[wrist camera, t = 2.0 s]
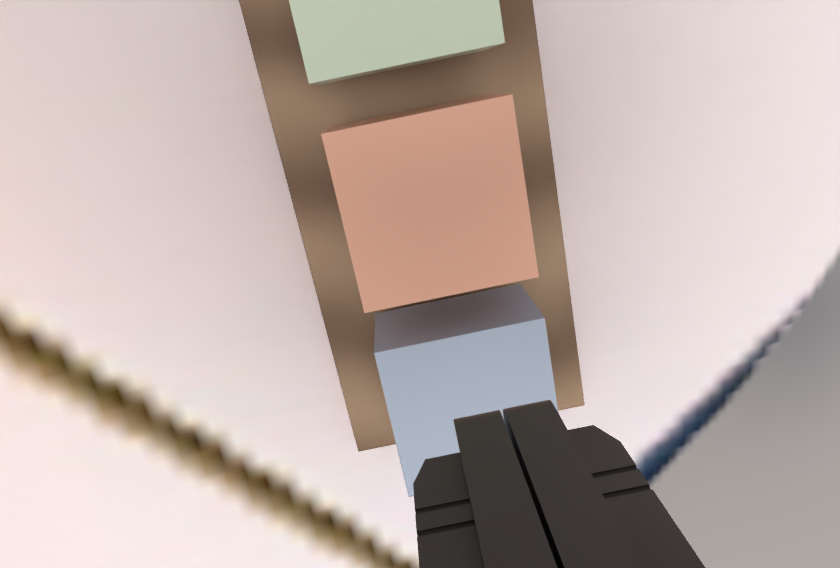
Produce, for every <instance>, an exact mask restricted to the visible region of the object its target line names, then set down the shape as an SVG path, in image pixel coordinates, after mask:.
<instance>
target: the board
mask: <svg viewBox="0 0 840 568" xmlns="http://www.w3.org/2000/svg"><path fill="white" fill-rule="evenodd" d="M239 2H240V6H241V9H242V13H243V17H244V21H245V25H246V28H247V32H248V36H249V40H250V43H251V47H252V51H253V55H254V59H255V62H256V66H257V70H258V74H259V77H260V81H261V85H262V89H263V93H264V96H265V100H266V104H267V108H268V111H269V115H270V119H271V123H272V127H273V130H274V134H275V138H276V142H277V145H278V149H279V153H280V157H281V160H282V164H283V168H284V172H285V176H286V179H287V183H288V187H289V191H290V194H291V198H292V202H293V206H294V210H295V213H296V217H297V221H298V225H299V228H300V232H301V236H302V240H303V244H304V247H305V251H306V255H307V259H308V262H309V266H310V270H311V274H312V278H313V281H314V285H315V289H316V293H317V296H318V300H319V304H320V308H321V311H322V315H323V319H324V323H325V327H326V330H327V334H328V338H329V342H330V345H331V349H332V353H333V357H334V361H335V364H336V368H337V372H338V376H339V379H340V383H341V387H342V391H343V395H344V398H345V402H346V406H347V410H348V413H349V417H350V421H351V425H352V429H353V432H354V436H355V440H356V444H357V447H358V451H364V450H368V449H373V448H378V447H383V446H388V445H393V444H396V442H395V438H394V433H393V429H392V425H391V421H390V417H389V413H388V409H387V405H386V400H385V396H384V392H383V388H382V384H381V380H380V376H379V371H378V367H377V363H376V359H375V355H374V340H375V314H377V313H381V312H386V311H391V310H396V309H401V308H406V307H410V306H415V305H420V304H425V303H430V302H435V301H440V300H444V299H449V298H454V297H459V296H464V295H469V294H473V293H478V292H483V291H488V290H493V289H498V288H502V287H507V286H512V285H517V284H521V285H522V286H523V288H524V289H525V291H526V292H527V293H528V295H529V296H530V298H531V299H532V301H533V302H534V303H535V305H536V306H537V308H538V309H539V310H540V312H541V313H542V315H543V316H544V318H545V323H546V330H547V337H548V344H549V351H550V358H551V365H552V371H553V378H554V385H555V392H556V399H557V406H558V410H563V409H568V408H573V407H578V406H583V405H584V398H583V390H582V383H581V375H580V367H579V359H578V352H577V344H576V336H575V328H574V320H573V313H572V305H571V297H570V289H569V282H568V274H567V266H566V258H565V251H564V243H563V235H562V227H561V220H560V212H559V204H558V196H557V188H556V181H555V173H554V165H553V157H552V150H551V142H550V134H549V126H548V119H547V111H546V103H545V95H544V88H543V80H542V72H541V64H540V56H539V49H538V41H537V33H536V25H535V18H534V10H533V2H532V0H499V4H500V11H501V18H502V25H503V32H504V39H505V43H503V44H501V45H498V46H495V47H492V48H490V49H487V50H484V51H479V52H475V53H470V54H465V55H460V56H455V57H451V58H446V59H441V60H436V61H431V62H427V63H422V64H417V65H412V66H407V67H403V68H398V69H393V70H388V71H383V72H379V73H374V74H369V75H364V76H359V77H355V78H350V79H345V80H340V81H335V82H331V83H326V84H309V82H308V78H307V74H306V70H305V65H304V61H303V57H302V53H301V49H300V45H299V41H298V37H297V32H296V28H295V24H294V20H293V16H292V12H291V8H290V3H289V0H239ZM490 93H496V94H513V101H514V108H515V115H516V122H517V129H518V136H519V143H520V150H521V157H522V163H523V170H524V177H525V184H526V191H527V198H528V205H529V212H530V219H531V226H532V233H533V240H534V247H535V254H536V261H537V267H538V274H539V277H537V278H532V279H528V280H523V281H518V282H513V283H508V284H503V285H499V286H494V287H489V288H484V289H479V290H474V291H469V292H465V293H460V294H455V295H450V296H445V297H440V298H436V299H431V300H426V301H421V302H416V303H411V304H407V305H402V306H397V307H392V308H387V309H382V310H378V311H373V312H368V313H364V309H363V305H362V301H361V297H360V293H359V289H358V285H357V280H356V276H355V272H354V268H353V264H352V260H351V256H350V252H349V247H348V243H347V239H346V235H345V231H344V227H343V223H342V218H341V214H340V210H339V206H338V202H337V198H336V194H335V190H334V185H333V181H332V177H331V173H330V169H329V165H328V161H327V156H326V152H325V148H324V144H323V140H322V136H321V134H322V133H323V132H325V131H326V130H327V129H329V128H330V127H331V126H336V125H341V124H346V123H351V122H355V121H360V120H365V119H370V118H375V117H380V116H384V115H389V114H394V113H399V112H404V111H408V110H413V109H418V108H423V107H428V106H432V105H437V104H442V103H447V102H452V101H456V100H461V99H466V98H471V97H476V96H480V95H485V94H490Z"/></svg>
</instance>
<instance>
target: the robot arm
mask: <svg viewBox="0 0 840 568" xmlns="http://www.w3.org/2000/svg"><path fill="white" fill-rule="evenodd" d="M503 419H504V420H503ZM453 421H454V426H455V431H456V436H457V441H458V446H459V451H460V452H459V453H454V454H449V455H444V456H439V457H434V458H429V459H425V461H424V463H423V465H422V467H421V469H420V471H419V473H418V475H417V477H416V479H415V481H414V483H413V489H414V502H415V511H416V528H417V535H418V537H417V541H418V554H419V567H420V568H705V567H704V565H703V564H702V562H701V561H700V559H699V558H698V556H697V555H696V553H695V552H694V550H693V549H692V547H691V546H690V544H689V543H688V542H687V540H686V538H685V537H684V536H683V534H682V533H681V531H680V530H679V528H678V527H677V525H676V524H675V522H674V521H673V519H672V518H671V516H670V515H669V513H668V512H667V510H666V509H665V507H664V506H663V504H662V503H661V501H660V500H659V499H658V497H657V495H656V494H655V492H654V491H653V490H651V489H650V487H649V484H648V482H647V481H646V479H645V478H644V476H643V475H642V473H641V472H640V470H639V469H638V470H637V468H636V464H635V463H634V461H633V460H632V458H631V457H630V455H629V454H628V452H627V451H626V449H625V448H624V446H623V445H622V444H621V442H620V441H618V440H617V439H615V438H614V437H612V436H610V435H609V434H607V433H605V432H604V431H602V430H600V429H599V428H597V427H596V426H594V425H592V426H587V427H582V428H577V429H572V430H567V428H566V427H565V425H564V423H563V421H562V419H561V417H560V416H559V414H558V412H557V410H556V408H555V406H554V404H553V403H552V401H551V400H545V401H540V402H535V403H530V404H525V405H521V406H516V407H511V408H506V409H503V417H502V414H501V412H500V410H497V411H492V412H487V413H482V414H477V415H472V416H467V417H462V418H457V419H453Z"/></svg>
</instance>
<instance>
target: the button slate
mask: <svg viewBox="0 0 840 568" xmlns="http://www.w3.org/2000/svg"><path fill="white" fill-rule="evenodd" d="M374 355H375V359H376V363H377V367H378V371H379V376H380V380H381V384H382V388H383V392H384V396H385V400H386V405H387V409H388V413H389V417H390V421H391V425H392V429H393V433H394V438H395V442H396V446H397V450H398V454H399V458H400V462H401V467H402V471H403V475H404V479H405V483H406V487H407V491H408V496H409V497H411V496H414V489H413V483H414V481H415V479H416V477H417V475H418V473H419V471H420V469H421V467H422V465H423V463H424V461H425V459H429V458H434V457H439V456H444V455H449V454H454V453H459V452H460V451H459V446H458V441H457V436H456V431H455V426H454V421H453V419H457V418H462V417H467V416H472V415H477V414H482V413H487V412H492V411H497V410H500V412H501V414H502V417H503V409H506V408H511V407H516V406H521V405H525V404H530V403H535V402H540V401H545V400H551V401H552V403H553V404H554V406H555V408H556V410H557V412H558V406H557V399H556V392H555V385H554V378H553V371H552V365H551V358H550V351H549V344H548V337H547V330H546V323H545V318H544V316H543V315H542V313H541V312H540V310H539V309H538V308H537V306H536V305H535V303H534V302H533V301H532V299H531V298H530V296H529V295H528V293H527V292H526V291H525V289H524V288H523V286H522V285H521V284H517V285H512V286H507V287H502V288H498V289H493V290H488V291H483V292H478V293H473V294H469V295H464V296H459V297H454V298H449V299H444V300H440V301H435V302H430V303H425V304H420V305H415V306H410V307H406V308H401V309H396V310H391V311H386V312H381V313H377V314H375V340H374ZM558 414H559V413H558ZM503 420H504V419H503Z"/></svg>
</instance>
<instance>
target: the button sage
mask: <svg viewBox="0 0 840 568" xmlns="http://www.w3.org/2000/svg"><path fill="white" fill-rule="evenodd" d="M289 3H290V8H291V12H292V16H293V20H294V24H295V28H296V32H297V37H298V41H299V45H300V49H301V53H302V57H303V61H304V65H305V70H306V74H307V78H308V82H309V84H326V83H331V82H335V81H340V80H345V79H350V78H355V77H359V76H364V75H369V74H374V73H379V72H383V71H388V70H393V69H398V68H403V67H407V66H412V65H417V64H422V63H427V62H431V61H436V60H441V59H446V58H451V57H455V56H460V55H465V54H470V53H475V52H479V51H484V50H487V49H490V48H492V47H495V46H498V45H501V44H503V43H505V39H504V32H503V25H502V18H501V11H500V4H499V0H289Z"/></svg>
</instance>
